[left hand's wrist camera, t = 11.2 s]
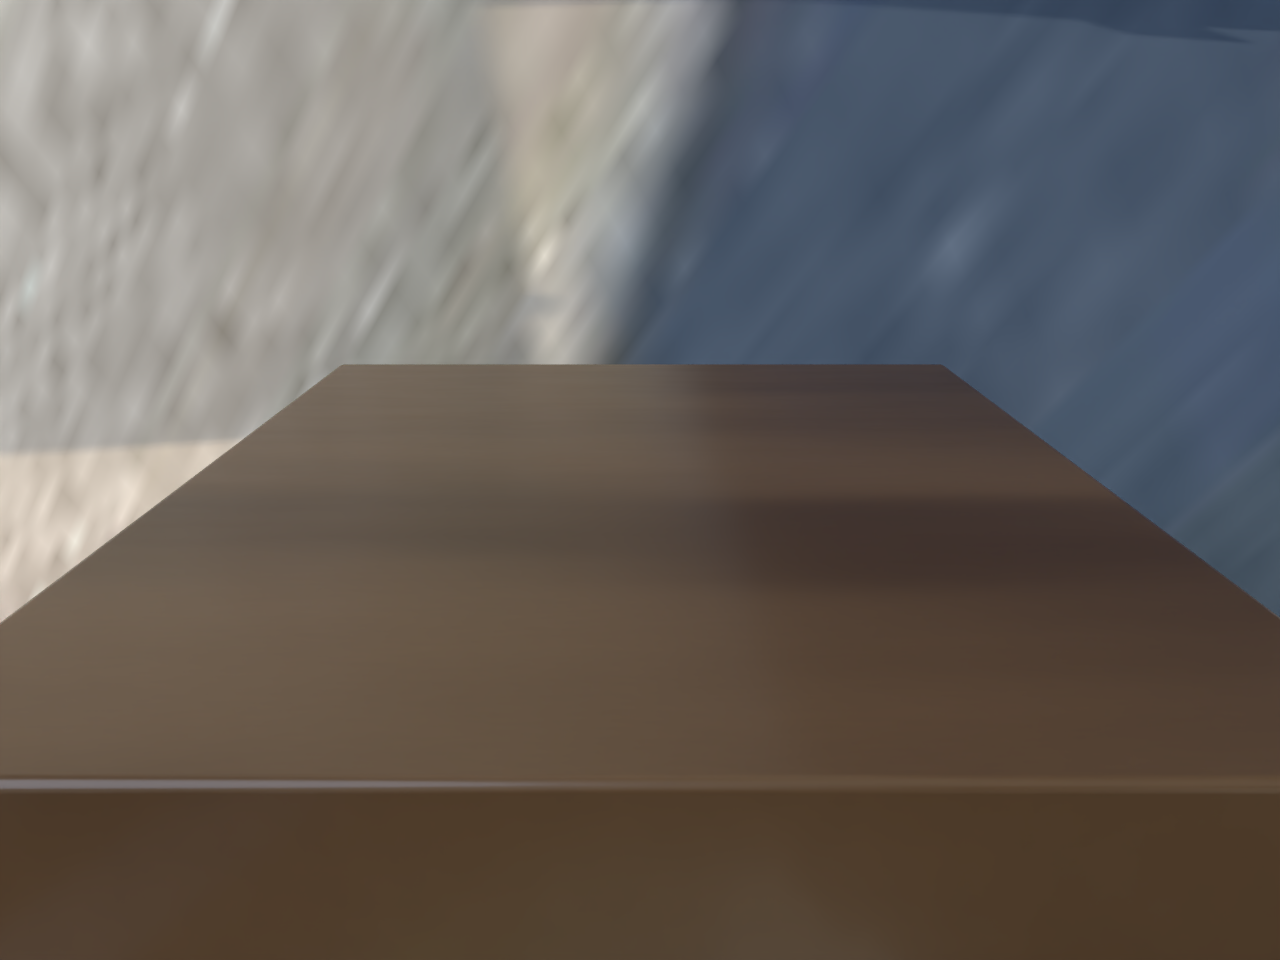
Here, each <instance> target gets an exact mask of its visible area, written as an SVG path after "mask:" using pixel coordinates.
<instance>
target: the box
mask: <svg viewBox="0 0 1280 960" xmlns="http://www.w3.org/2000/svg"><path fill="white" fill-rule="evenodd" d="M0 960H1280V617H1278V616H1277V615H1276V614H1274V613H1273V612H1272V611H1270V610H1269V609H1268V608H1266V607H1265V606H1264V605H1262V604H1261V603H1260V602H1258V601H1257V600H1256V599H1254V598H1253V597H1252V596H1250V595H1249V594H1248V593H1246V592H1245V591H1244V590H1242V589H1241V588H1240V587H1238V586H1237V585H1236V584H1234V583H1233V582H1232V581H1230V580H1229V579H1228V578H1226V577H1225V576H1224V575H1222V574H1221V573H1220V572H1218V571H1217V570H1216V569H1214V568H1213V567H1212V566H1210V565H1209V564H1208V563H1206V562H1205V561H1204V560H1202V559H1201V558H1200V557H1198V556H1197V555H1196V554H1194V553H1193V552H1192V551H1190V550H1189V549H1188V548H1186V547H1185V546H1184V545H1182V544H1181V543H1179V542H1178V541H1177V540H1175V539H1174V538H1173V537H1171V536H1170V535H1169V534H1167V533H1166V532H1165V531H1163V530H1162V529H1161V528H1159V527H1158V526H1157V525H1155V524H1154V523H1153V522H1151V521H1150V520H1149V519H1147V518H1146V517H1145V516H1143V515H1142V514H1141V513H1139V512H1138V511H1137V510H1135V509H1134V508H1133V507H1131V506H1130V505H1129V504H1127V503H1126V502H1125V501H1123V500H1122V499H1121V498H1119V497H1118V496H1117V495H1115V494H1114V493H1113V492H1111V491H1110V490H1109V489H1107V488H1106V487H1105V486H1103V485H1102V484H1101V483H1099V482H1098V481H1097V480H1095V479H1094V478H1093V477H1091V476H1090V475H1089V474H1087V473H1086V472H1085V471H1083V470H1082V469H1081V468H1079V467H1078V466H1077V465H1075V464H1074V463H1073V462H1071V461H1070V460H1069V459H1067V458H1066V457H1065V456H1063V455H1062V454H1061V453H1059V452H1058V451H1057V450H1055V449H1054V448H1053V447H1051V446H1050V445H1049V444H1047V443H1046V442H1045V441H1043V440H1042V439H1041V438H1039V437H1038V436H1037V435H1035V434H1034V433H1033V432H1031V431H1030V430H1029V429H1027V428H1026V427H1025V426H1023V425H1022V424H1021V423H1019V422H1018V421H1017V420H1015V419H1014V418H1013V417H1011V416H1010V415H1009V414H1007V413H1006V412H1005V411H1003V410H1002V409H1001V408H999V407H998V406H997V405H995V404H994V403H993V402H991V401H990V400H989V399H987V398H986V397H985V396H983V395H982V394H981V393H979V392H978V391H977V390H975V389H974V388H973V387H971V386H970V385H969V384H967V383H966V382H965V381H963V380H962V379H961V378H959V377H958V376H957V375H955V374H954V373H953V372H951V371H950V370H949V369H947V368H946V367H945V366H943V365H341V366H339V367H338V368H337V369H335V370H334V371H333V372H332V373H330V374H329V375H328V376H326V377H325V378H324V379H322V380H321V381H320V382H318V383H317V384H316V385H314V386H313V387H312V388H310V389H309V390H308V391H306V392H305V393H304V394H302V395H301V396H300V397H298V398H297V399H296V400H294V401H293V402H292V403H291V404H289V405H288V406H287V407H285V408H284V409H283V410H281V411H280V412H279V413H277V414H276V415H275V416H273V417H272V418H271V419H269V420H268V421H267V422H265V423H264V424H263V425H261V426H260V427H259V428H257V429H256V430H255V431H253V432H252V433H251V434H250V435H248V436H247V437H246V438H244V439H243V440H242V441H240V442H239V443H238V444H236V445H235V446H234V447H232V448H231V449H230V450H228V451H227V452H226V453H224V454H223V455H222V456H220V457H219V458H218V459H216V460H215V461H214V462H212V463H211V464H210V465H209V466H207V467H206V468H205V469H203V470H202V471H201V472H199V473H198V474H197V475H195V476H194V477H193V478H191V479H190V480H189V481H187V482H186V483H185V484H183V485H182V486H181V487H179V488H178V489H177V490H175V491H174V492H173V493H171V494H170V495H169V496H168V497H166V498H165V499H164V500H162V501H161V502H160V503H158V504H157V505H156V506H154V507H153V508H152V509H150V510H149V511H148V512H146V513H145V514H144V515H142V516H141V517H140V518H138V519H137V520H136V521H134V522H133V523H132V524H130V525H129V526H128V527H127V528H125V529H124V530H123V531H121V532H120V533H119V534H117V535H116V536H115V537H113V538H112V539H111V540H109V541H108V542H107V543H105V544H104V545H103V546H101V547H100V548H99V549H97V550H96V551H95V552H93V553H92V554H91V555H89V556H88V557H87V558H86V559H84V560H83V561H82V562H80V563H79V564H78V565H76V566H75V567H74V568H72V569H71V570H70V571H68V572H67V573H66V574H64V575H63V576H62V577H60V578H59V579H58V580H56V581H55V582H54V583H52V584H51V585H50V586H48V587H47V588H46V589H45V590H43V591H42V592H41V593H39V594H38V595H37V596H35V597H34V598H33V599H31V600H30V601H29V602H27V603H26V604H25V605H23V606H22V607H21V608H19V609H18V610H17V611H15V612H14V613H13V614H11V615H10V616H9V617H7V618H6V619H5V620H4V621H2V622H1V623H0Z"/></svg>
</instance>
